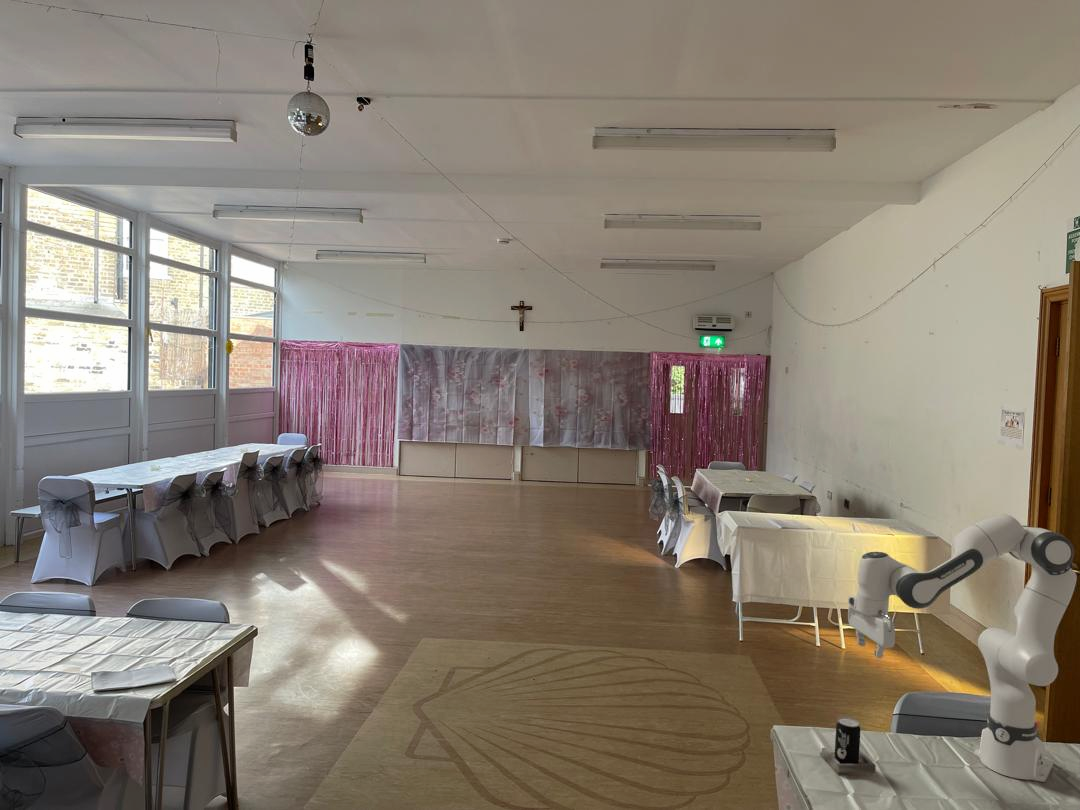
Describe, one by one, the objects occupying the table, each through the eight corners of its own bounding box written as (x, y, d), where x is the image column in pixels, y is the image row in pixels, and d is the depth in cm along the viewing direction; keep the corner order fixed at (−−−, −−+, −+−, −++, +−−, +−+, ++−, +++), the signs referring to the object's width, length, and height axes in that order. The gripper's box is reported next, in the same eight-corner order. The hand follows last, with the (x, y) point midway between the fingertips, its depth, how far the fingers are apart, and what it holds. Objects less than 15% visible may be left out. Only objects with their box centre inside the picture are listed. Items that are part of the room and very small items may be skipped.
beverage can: (860, 769, 209) (863, 728, 209) (836, 765, 210) (839, 725, 210) (855, 757, 216) (857, 717, 215) (832, 754, 217) (834, 715, 216)
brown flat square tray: (819, 755, 218) (820, 746, 218) (854, 754, 219) (855, 745, 219) (838, 775, 207) (838, 765, 207) (875, 774, 208) (875, 765, 208)
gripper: (902, 617, 209) (899, 664, 210) (864, 596, 229) (861, 639, 230) (881, 617, 209) (878, 664, 209) (845, 595, 229) (842, 639, 229)
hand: (869, 651), depth 220 cm, fingers open, 8 cm apart
